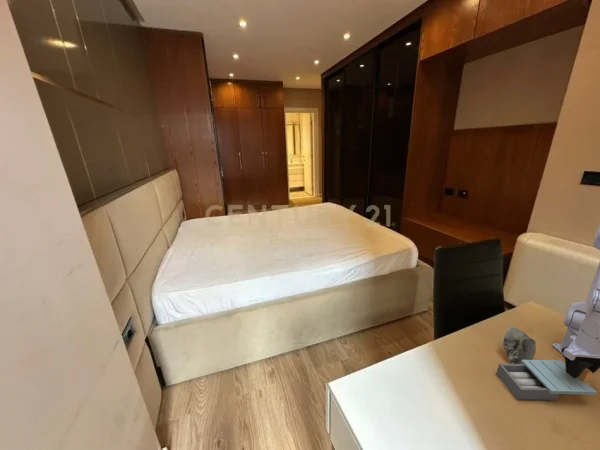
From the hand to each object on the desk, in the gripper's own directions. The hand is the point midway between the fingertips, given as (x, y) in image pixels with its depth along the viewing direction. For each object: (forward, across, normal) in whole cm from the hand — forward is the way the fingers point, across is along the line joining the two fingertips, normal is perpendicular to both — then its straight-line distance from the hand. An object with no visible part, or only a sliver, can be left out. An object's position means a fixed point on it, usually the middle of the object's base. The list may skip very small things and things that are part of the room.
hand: (579, 372), depth 67 cm
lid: (+2, +5, -1) cm, 6 cm away
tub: (+6, +13, -3) cm, 14 cm away
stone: (+6, +4, -13) cm, 15 cm away
